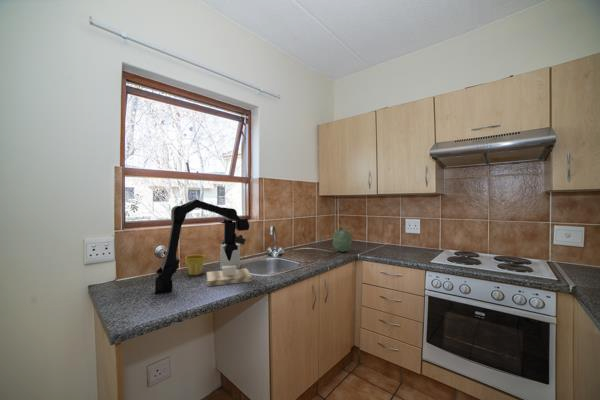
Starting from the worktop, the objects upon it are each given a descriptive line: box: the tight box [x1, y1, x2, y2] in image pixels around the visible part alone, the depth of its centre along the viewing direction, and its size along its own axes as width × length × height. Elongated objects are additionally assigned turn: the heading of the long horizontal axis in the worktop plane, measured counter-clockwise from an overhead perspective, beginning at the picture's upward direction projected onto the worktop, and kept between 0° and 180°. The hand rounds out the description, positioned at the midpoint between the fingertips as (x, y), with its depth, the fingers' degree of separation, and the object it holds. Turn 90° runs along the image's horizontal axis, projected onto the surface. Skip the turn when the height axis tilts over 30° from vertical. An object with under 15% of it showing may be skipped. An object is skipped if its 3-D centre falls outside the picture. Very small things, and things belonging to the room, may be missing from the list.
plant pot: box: [184, 254, 206, 276], centre depth 139 cm, size 10×10×10 cm
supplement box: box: [219, 243, 241, 270], centre depth 150 cm, size 9×9×15 cm
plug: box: [221, 265, 236, 276], centre depth 130 cm, size 7×5×6 cm, turn 113°
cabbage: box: [332, 228, 353, 253], centre depth 205 cm, size 16×19×20 cm
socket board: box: [206, 267, 253, 287], centre depth 130 cm, size 22×16×2 cm
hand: (229, 260), depth 130 cm, fingers closed
